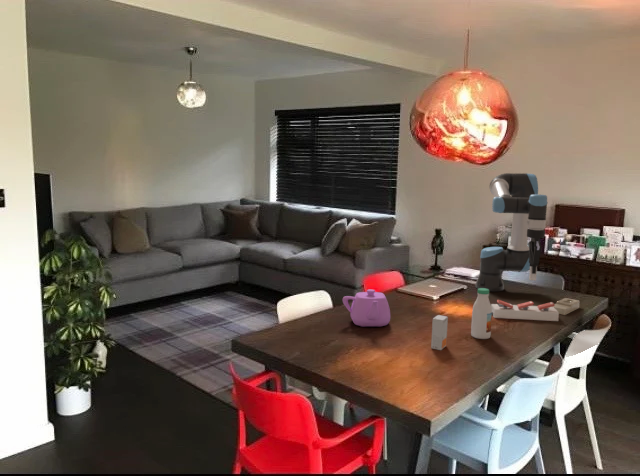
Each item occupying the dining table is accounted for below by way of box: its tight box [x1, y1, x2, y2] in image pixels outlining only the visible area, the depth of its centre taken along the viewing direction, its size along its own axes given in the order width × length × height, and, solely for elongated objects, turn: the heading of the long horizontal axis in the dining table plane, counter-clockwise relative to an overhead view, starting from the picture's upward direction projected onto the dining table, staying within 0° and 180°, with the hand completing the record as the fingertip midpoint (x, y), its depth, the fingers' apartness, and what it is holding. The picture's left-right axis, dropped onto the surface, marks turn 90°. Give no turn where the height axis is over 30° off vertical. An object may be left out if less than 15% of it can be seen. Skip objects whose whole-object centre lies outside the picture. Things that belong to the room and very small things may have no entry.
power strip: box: [490, 303, 560, 322], centre depth 246 cm, size 9×35×5 cm, turn 82°
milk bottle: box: [470, 288, 493, 340], centre depth 216 cm, size 8×8×20 cm
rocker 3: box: [536, 301, 555, 310], centre depth 242 cm, size 3×7×1 cm, turn 82°
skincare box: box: [430, 314, 449, 351], centre depth 204 cm, size 6×4×12 cm
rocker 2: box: [516, 300, 535, 309], centre depth 243 cm, size 3×7×1 cm, turn 82°
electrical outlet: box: [553, 297, 581, 316], centre depth 257 cm, size 7×4×18 cm
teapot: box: [342, 289, 391, 328], centre depth 229 cm, size 23×21×15 cm
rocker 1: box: [496, 299, 514, 308], centre depth 244 cm, size 3×7×1 cm, turn 81°
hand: (532, 280), depth 241 cm, fingers closed
